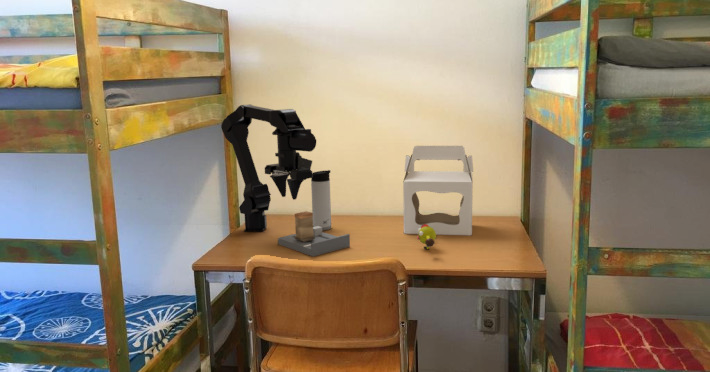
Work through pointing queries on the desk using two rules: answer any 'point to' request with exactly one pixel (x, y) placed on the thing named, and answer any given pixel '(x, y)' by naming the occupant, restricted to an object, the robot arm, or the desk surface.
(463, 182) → the gable box
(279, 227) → the desk surface
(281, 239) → the console
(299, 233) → the block
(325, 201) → the travel mug
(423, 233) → the toy figure
